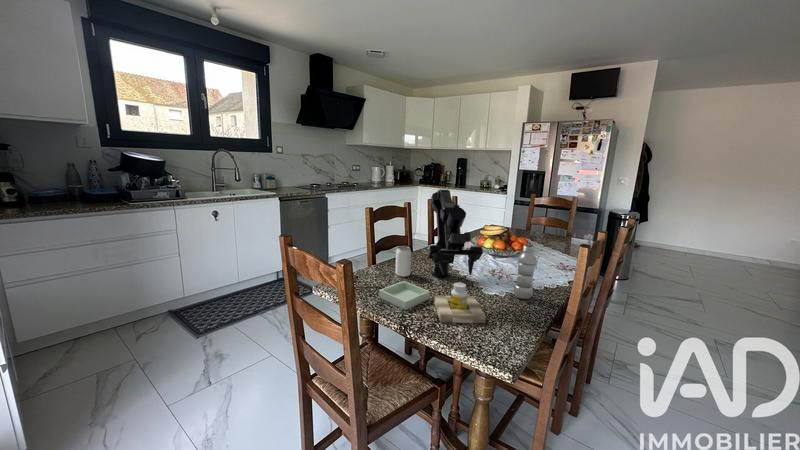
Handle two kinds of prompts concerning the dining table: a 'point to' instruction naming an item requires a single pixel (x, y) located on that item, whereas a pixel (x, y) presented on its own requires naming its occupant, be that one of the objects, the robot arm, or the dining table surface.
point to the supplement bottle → (459, 296)
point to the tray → (404, 295)
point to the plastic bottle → (525, 273)
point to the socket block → (459, 311)
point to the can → (403, 261)
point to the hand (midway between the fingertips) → (457, 274)
